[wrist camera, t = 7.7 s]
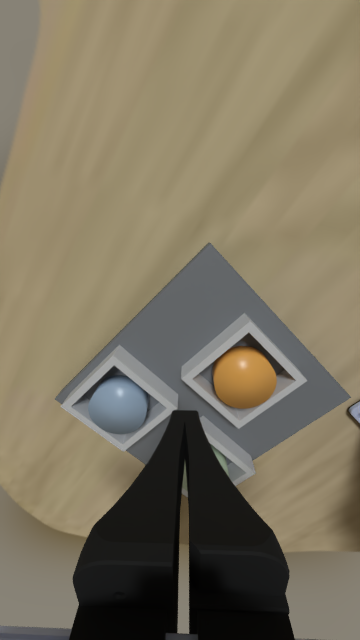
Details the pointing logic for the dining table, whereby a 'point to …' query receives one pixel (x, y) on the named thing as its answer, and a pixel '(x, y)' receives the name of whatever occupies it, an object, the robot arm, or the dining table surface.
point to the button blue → (118, 405)
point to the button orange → (243, 377)
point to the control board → (207, 367)
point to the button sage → (220, 458)
